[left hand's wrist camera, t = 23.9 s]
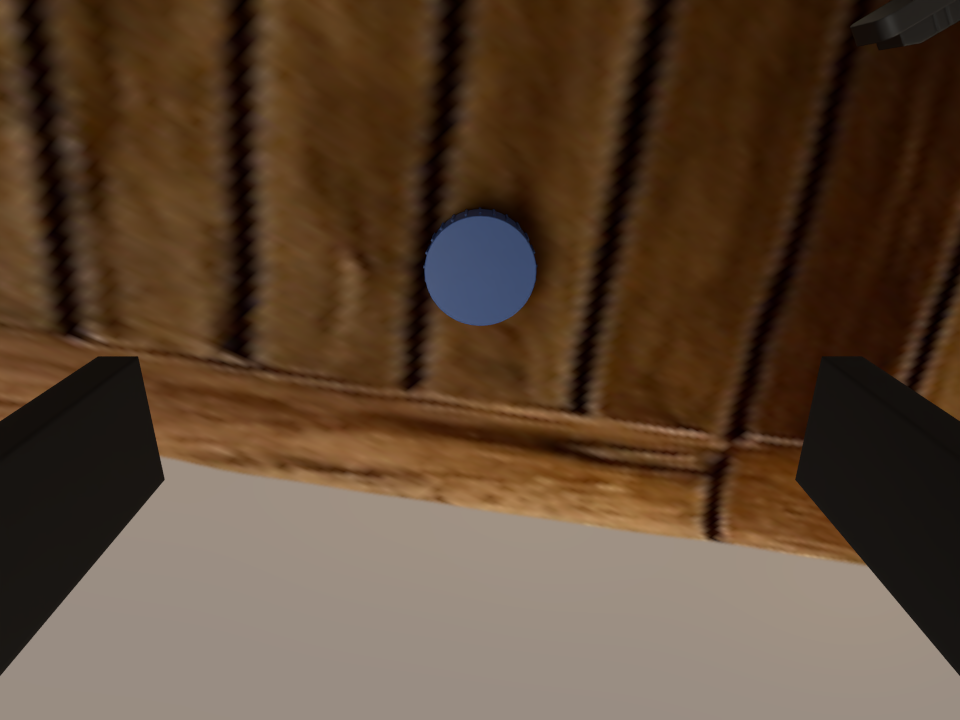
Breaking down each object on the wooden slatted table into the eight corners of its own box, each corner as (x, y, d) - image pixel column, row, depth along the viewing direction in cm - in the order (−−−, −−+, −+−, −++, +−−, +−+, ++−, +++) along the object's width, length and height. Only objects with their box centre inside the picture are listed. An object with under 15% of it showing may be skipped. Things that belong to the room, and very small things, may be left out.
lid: (406, 241, 30) (401, 250, 28) (501, 186, 29) (503, 191, 27) (460, 331, 32) (459, 346, 30) (552, 281, 31) (557, 293, 29)
